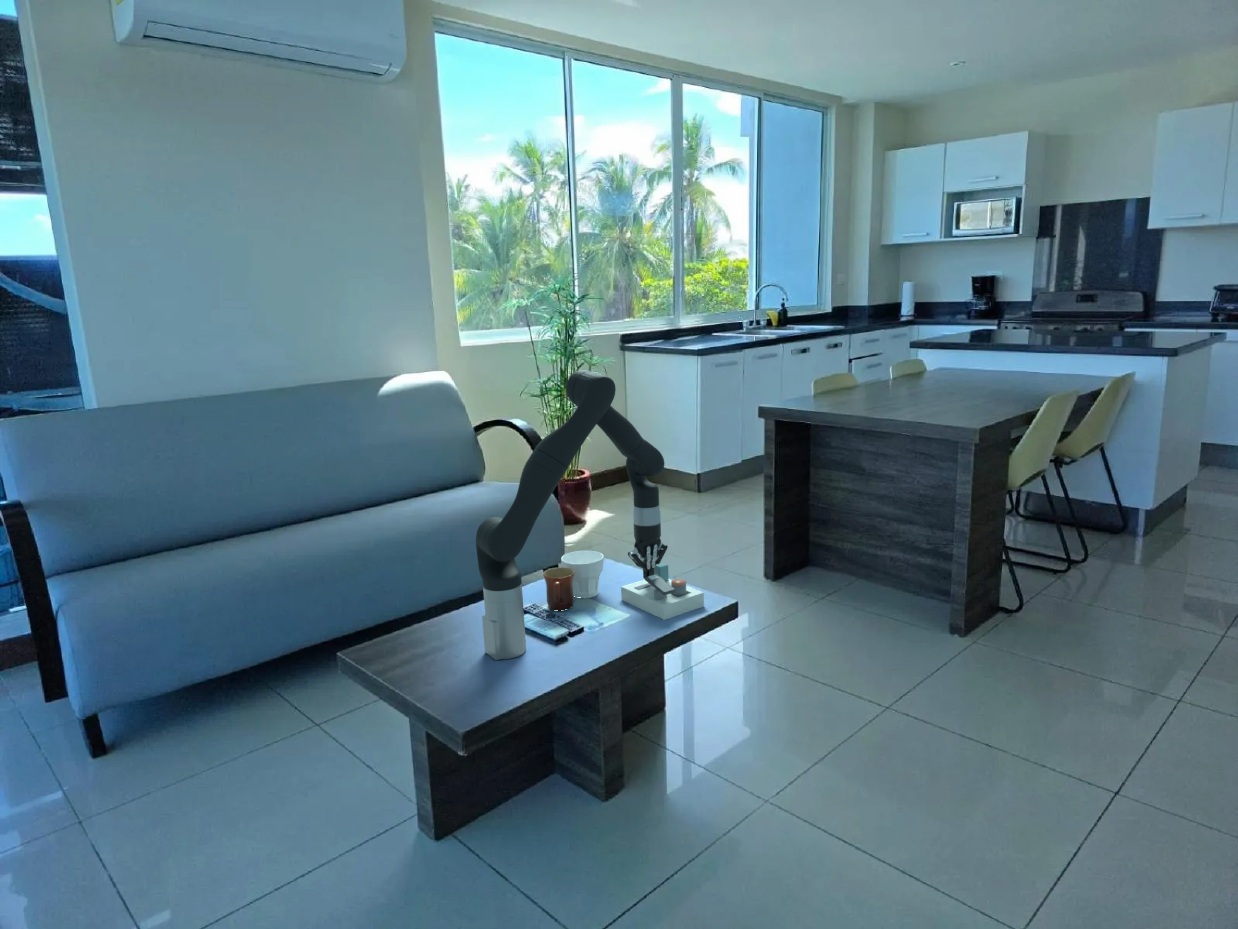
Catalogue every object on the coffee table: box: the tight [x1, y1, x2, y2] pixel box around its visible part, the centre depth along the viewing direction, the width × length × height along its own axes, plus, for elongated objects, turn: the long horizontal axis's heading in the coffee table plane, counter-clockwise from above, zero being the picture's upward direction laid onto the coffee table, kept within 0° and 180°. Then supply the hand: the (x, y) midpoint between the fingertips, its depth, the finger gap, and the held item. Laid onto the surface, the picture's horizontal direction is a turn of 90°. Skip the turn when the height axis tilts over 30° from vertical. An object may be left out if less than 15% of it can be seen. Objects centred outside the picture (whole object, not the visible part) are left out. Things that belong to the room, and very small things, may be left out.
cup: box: [560, 550, 605, 599], centre depth 228 cm, size 12×12×11 cm
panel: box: [620, 578, 705, 621], centre depth 219 cm, size 14×19×7 cm
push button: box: [671, 578, 687, 597], centre depth 216 cm, size 4×4×5 cm
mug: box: [542, 566, 575, 612], centre depth 217 cm, size 12×9×10 cm
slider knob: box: [654, 561, 670, 581], centre depth 224 cm, size 3×3×4 cm
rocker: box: [646, 574, 675, 595], centre depth 211 cm, size 4×8×1 cm, turn 36°
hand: (648, 580), depth 222 cm, fingers closed
